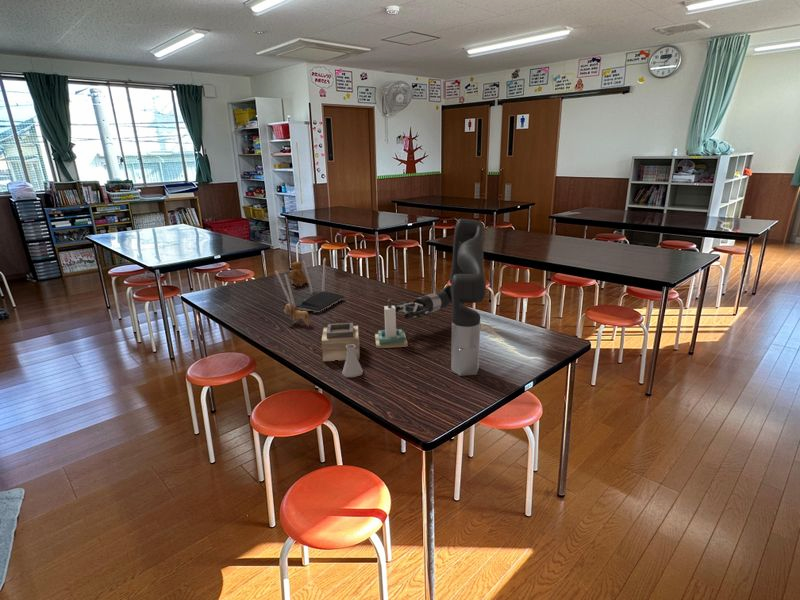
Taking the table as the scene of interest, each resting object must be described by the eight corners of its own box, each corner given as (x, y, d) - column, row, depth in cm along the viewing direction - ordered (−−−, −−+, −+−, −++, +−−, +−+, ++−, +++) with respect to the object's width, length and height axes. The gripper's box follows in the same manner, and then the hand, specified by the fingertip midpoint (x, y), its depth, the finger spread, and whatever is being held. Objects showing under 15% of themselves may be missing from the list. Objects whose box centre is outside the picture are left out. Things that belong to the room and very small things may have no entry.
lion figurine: (283, 324, 197) (281, 305, 194) (290, 320, 202) (288, 301, 199) (311, 328, 192) (309, 308, 189) (318, 324, 196) (316, 304, 194)
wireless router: (313, 318, 204) (309, 275, 198) (272, 312, 213) (267, 271, 207) (349, 297, 233) (347, 259, 227) (312, 292, 242) (308, 256, 236)
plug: (396, 340, 174) (395, 301, 170) (386, 341, 174) (384, 302, 169) (395, 336, 178) (394, 298, 173) (385, 337, 178) (383, 298, 173)
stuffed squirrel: (309, 281, 265) (307, 259, 261) (306, 287, 252) (304, 265, 248) (292, 281, 265) (290, 260, 261) (288, 288, 251) (285, 265, 247)
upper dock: (359, 359, 162) (358, 333, 159) (323, 361, 161) (320, 335, 157) (359, 344, 174) (357, 320, 171) (325, 346, 173) (323, 322, 170)
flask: (343, 379, 147) (341, 351, 144) (339, 370, 154) (337, 343, 151) (365, 376, 149) (363, 348, 146) (360, 366, 156) (358, 340, 153)
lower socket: (407, 346, 171) (407, 339, 170) (376, 348, 170) (376, 341, 169) (404, 334, 183) (404, 327, 182) (375, 336, 182) (374, 329, 181)
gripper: (415, 291, 190) (386, 300, 180) (440, 299, 179) (409, 308, 169) (416, 308, 192) (386, 318, 182) (440, 316, 182) (410, 327, 172)
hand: (398, 313), depth 176 cm, fingers open, 8 cm apart
